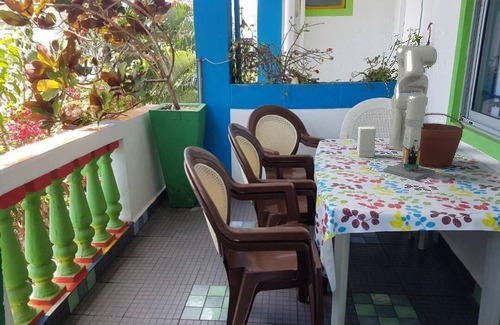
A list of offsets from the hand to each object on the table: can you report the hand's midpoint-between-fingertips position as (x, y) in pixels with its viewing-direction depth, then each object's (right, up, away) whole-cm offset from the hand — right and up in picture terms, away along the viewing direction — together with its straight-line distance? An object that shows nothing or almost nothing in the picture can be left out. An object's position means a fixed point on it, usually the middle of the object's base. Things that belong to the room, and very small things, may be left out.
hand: (410, 161), depth 174 cm
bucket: (+17, -1, +16) cm, 24 cm away
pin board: (0, -5, +1) cm, 5 cm away
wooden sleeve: (0, -2, +1) cm, 2 cm away
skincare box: (-11, +3, +31) cm, 33 cm away
